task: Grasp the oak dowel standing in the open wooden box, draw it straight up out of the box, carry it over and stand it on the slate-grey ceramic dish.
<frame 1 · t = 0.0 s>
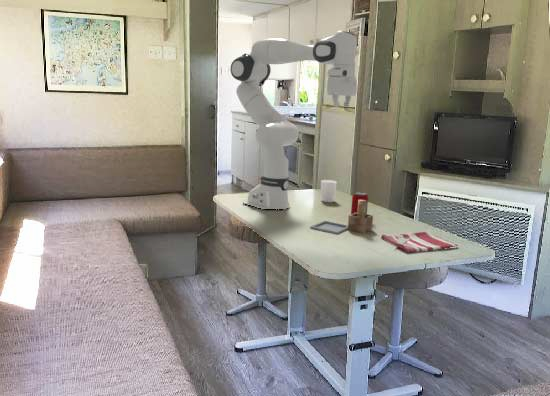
hand: (341, 106, 210), 48 cm above the table, fingers open, 8 cm apart
white cup: (327, 201, 255), on the table
dowel: (359, 229, 203), point 1 cm above the table, touching open wooden box
beverage can: (358, 220, 220), on the table
dish towel: (418, 245, 190), on the table
open wooden box: (359, 231, 203), on the table
dish: (330, 229, 203), on the table
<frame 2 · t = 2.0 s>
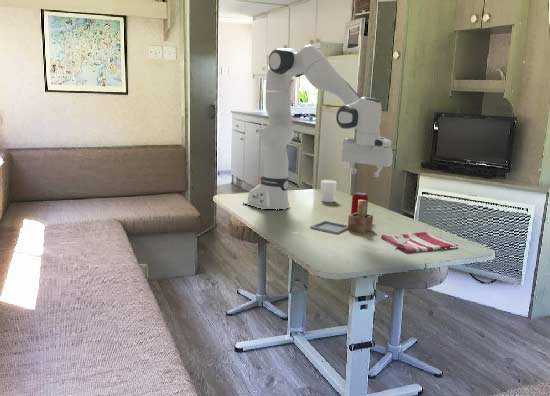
hand: (364, 175, 198), 23 cm above the table, fingers open, 8 cm apart
nothing on the table moved.
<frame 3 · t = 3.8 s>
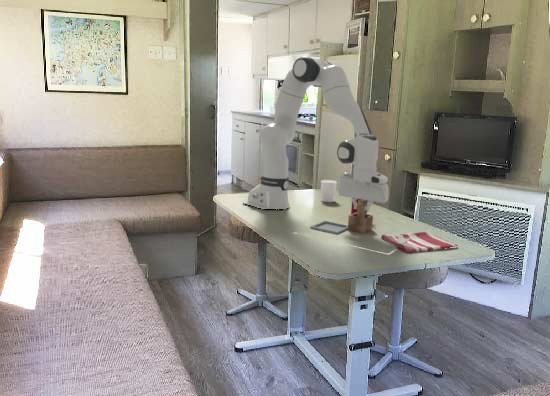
hand: (361, 210, 201), 9 cm above the table, fingers closed on dowel, 3 cm apart
dowel: (359, 229, 203), point 1 cm above the table, touching open wooden box, gripper
everything else where it was.
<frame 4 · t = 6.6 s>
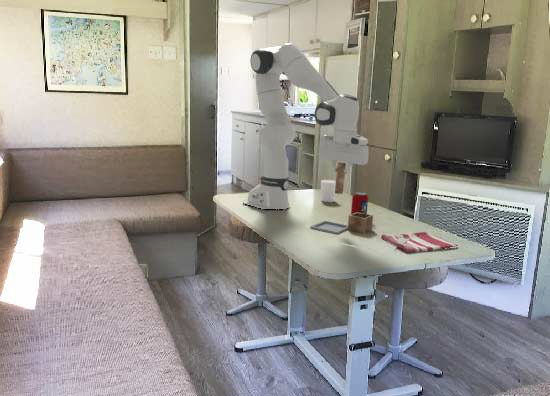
hand: (340, 172, 199), 23 cm above the table, fingers closed on dowel, 3 cm apart
dowel: (338, 192, 200), point 15 cm above the table, touching gripper
everything else where it was.
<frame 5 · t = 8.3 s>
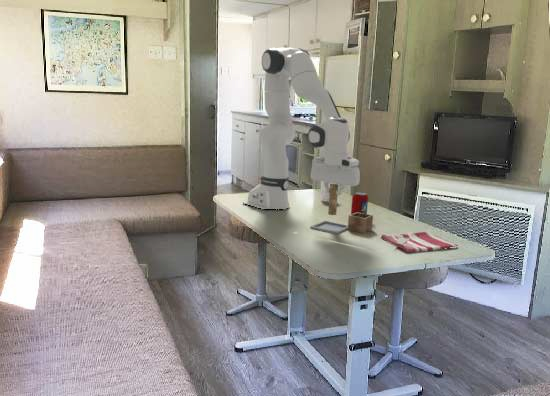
hand: (333, 194, 200), 15 cm above the table, fingers closed on dowel, 3 cm apart
dowel: (332, 214, 202), point 6 cm above the table, touching gripper
everything else where it was.
when the fingers open (10 cm above the table, at t = 9.4 s): dowel stays where it is, resting on dish.
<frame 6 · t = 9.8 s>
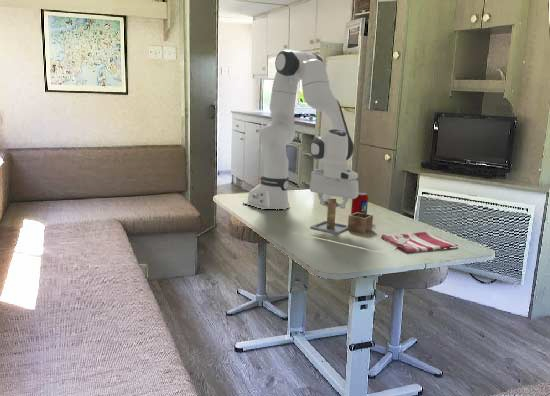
hand: (332, 206, 201), 10 cm above the table, fingers open, 8 cm apart
dowel: (330, 227, 203), point 1 cm above the table, touching dish
everything else where it was.
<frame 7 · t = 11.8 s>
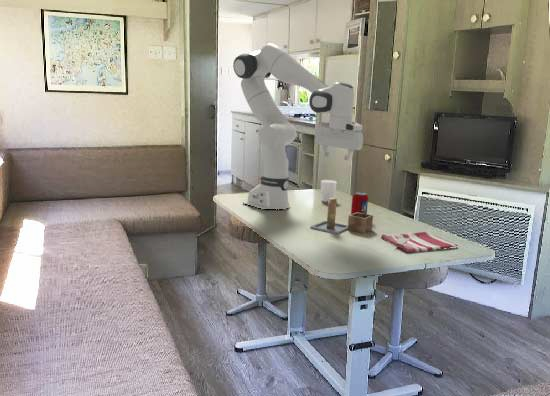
hand: (336, 158, 206), 28 cm above the table, fingers open, 8 cm apart
nothing on the table moved.
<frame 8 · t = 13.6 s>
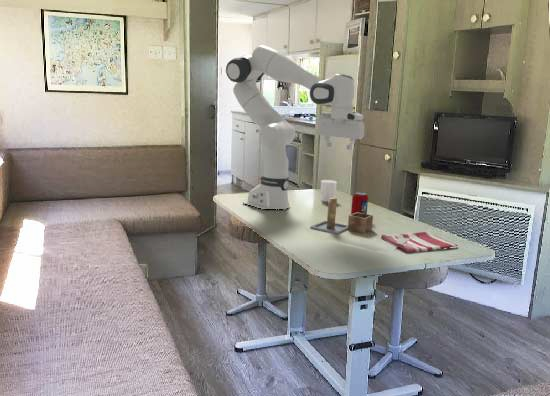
hand: (338, 148, 211), 31 cm above the table, fingers open, 8 cm apart
nothing on the table moved.
at the end: dowel inside the target area on the dish (0.0 cm from its centre), point 0.6 cm above the dish's base; dowel tilted 1°; the gripper is holding nothing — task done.
